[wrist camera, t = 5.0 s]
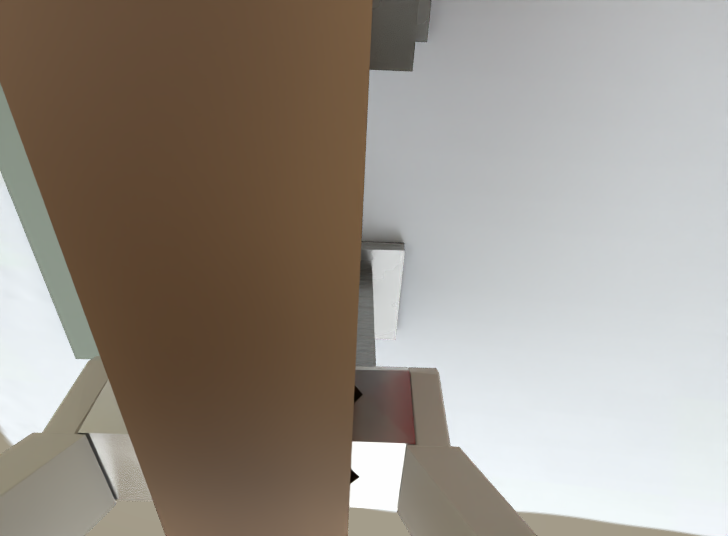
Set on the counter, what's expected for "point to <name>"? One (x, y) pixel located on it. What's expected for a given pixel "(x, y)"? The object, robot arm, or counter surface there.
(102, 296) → the rail
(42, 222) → the mat
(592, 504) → the counter surface
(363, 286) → the post
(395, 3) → the post
